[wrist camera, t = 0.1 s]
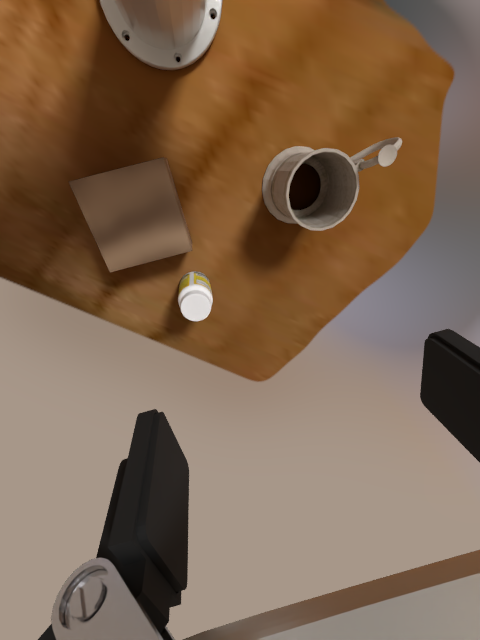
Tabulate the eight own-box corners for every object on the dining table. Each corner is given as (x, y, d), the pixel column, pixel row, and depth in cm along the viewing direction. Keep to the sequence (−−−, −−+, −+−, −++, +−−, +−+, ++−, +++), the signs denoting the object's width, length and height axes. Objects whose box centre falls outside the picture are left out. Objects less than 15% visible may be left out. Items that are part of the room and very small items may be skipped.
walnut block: (82, 179, 38) (68, 181, 34) (166, 158, 38) (163, 157, 34) (118, 261, 43) (109, 272, 39) (192, 242, 43) (192, 250, 39)
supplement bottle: (182, 301, 47) (180, 326, 40) (176, 273, 45) (173, 294, 38) (212, 296, 48) (216, 320, 40) (207, 268, 45) (210, 288, 38)
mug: (282, 236, 45) (310, 257, 34) (249, 174, 40) (269, 177, 30) (369, 179, 43) (426, 182, 32) (343, 108, 38) (400, 85, 28)
